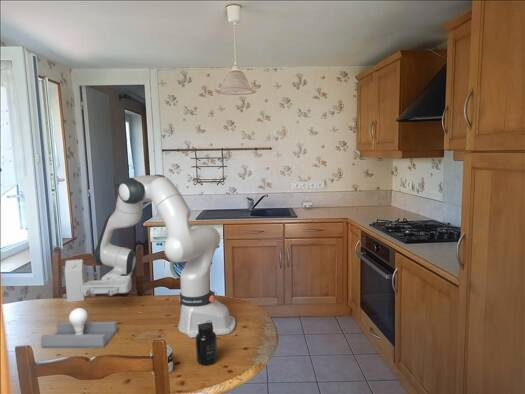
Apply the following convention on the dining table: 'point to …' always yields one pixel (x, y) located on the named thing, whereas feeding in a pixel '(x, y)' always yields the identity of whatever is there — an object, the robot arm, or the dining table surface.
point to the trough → (91, 338)
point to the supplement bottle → (206, 344)
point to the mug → (170, 358)
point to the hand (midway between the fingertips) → (97, 294)
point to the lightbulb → (78, 320)
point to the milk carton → (74, 280)
